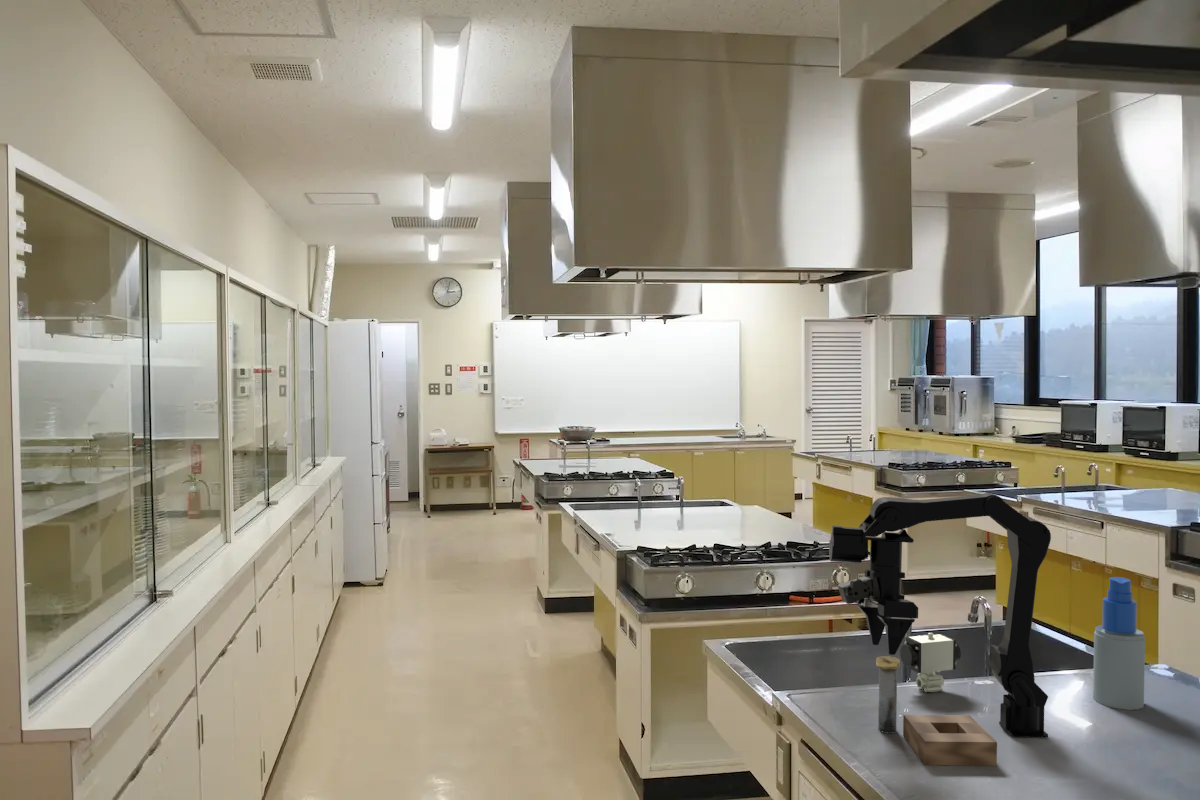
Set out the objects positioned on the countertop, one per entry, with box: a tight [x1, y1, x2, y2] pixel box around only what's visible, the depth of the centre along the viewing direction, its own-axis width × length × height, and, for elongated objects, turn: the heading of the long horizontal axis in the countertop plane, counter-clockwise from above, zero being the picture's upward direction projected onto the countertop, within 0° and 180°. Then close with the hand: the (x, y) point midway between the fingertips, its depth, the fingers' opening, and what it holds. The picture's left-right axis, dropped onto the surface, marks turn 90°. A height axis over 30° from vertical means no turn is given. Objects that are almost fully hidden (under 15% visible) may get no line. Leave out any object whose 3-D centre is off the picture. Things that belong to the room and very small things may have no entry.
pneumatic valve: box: [899, 632, 962, 693], centre depth 189 cm, size 6×12×12 cm, turn 105°
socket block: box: [902, 714, 998, 767], centre depth 158 cm, size 12×12×4 cm
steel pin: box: [875, 655, 901, 734], centre depth 167 cm, size 4×4×13 cm
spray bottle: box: [1092, 576, 1146, 711], centre depth 182 cm, size 9×9×25 cm
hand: (883, 649), depth 168 cm, fingers open, 9 cm apart
